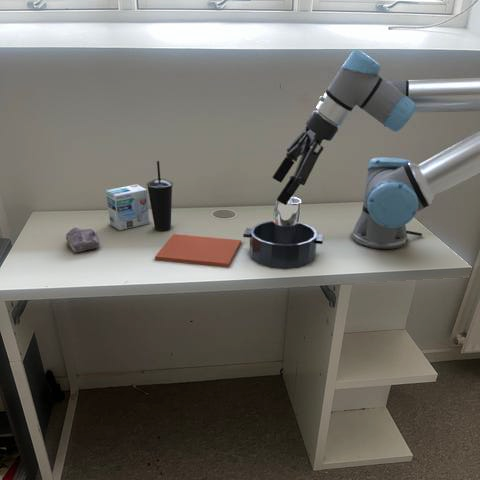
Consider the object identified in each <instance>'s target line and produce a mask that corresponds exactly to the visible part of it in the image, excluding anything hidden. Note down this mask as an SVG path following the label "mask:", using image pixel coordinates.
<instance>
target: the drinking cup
mask: <svg viewBox="0 0 480 480" xmlns="http://www.w3.org/2000/svg"><path fill="white" fill-rule="evenodd" d="M156 168H157V178H154V179H151V180H149V181H148V182H146V188H147V193H148V197H149V202H150V209H151V215H152V220H153V226H154V230H155V231H158V232H167V231H169V230H171V228H172V207H173V206H172V204H173V203H172V202H173V187H174V182H173V181H172V180H168V179H167V178H161V169H160V168H161V167H160V160H156Z"/></svg>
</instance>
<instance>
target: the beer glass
mask: <svg viewBox="0 0 480 480" xmlns="http://www.w3.org/2000/svg"><path fill="white" fill-rule="evenodd" d="M277 198H278V196H277V197H276V198H275V204H274V209H273V216H272V217H273V219H272V221H273V226H274V243H276V244H293V243H294V238H295V235H296V232H297V229H298V225H299V223H300V220H301V212H302V199H300V198H298V197H295V196H292V197H291V198H290V200H289V201H288V203H287V204H286V205H284V204H283V203H281V202H279V201H277Z"/></svg>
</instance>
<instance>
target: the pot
mask: <svg viewBox="0 0 480 480" xmlns="http://www.w3.org/2000/svg"><path fill="white" fill-rule="evenodd" d="M242 235H243V238H248V239H249V256H250V258H251V260H252V261H253V262H255V263H257V264H258V265H261V266H265V267H268V268H271V269H281V270H288V269H289V270H290V269H298V268H302V267H305V266H309V265H310V264H311V263H313V262H314V261H315V259H316V252H317V245H323V243H324V237H325V236H324V234H320V233H319V234H318V232H317V230H316V229H315V228H314V227H313V226H311V225H309V224H306V223H303V222H299V225H298V229H297V232H296V235H295V238H294V243H293V244H276V243H274V226H273V220H268V221H263V222H259V223H256V224H255V225H254V226H252V227H251V228H249V227H246V228H245V230H244V232H243V234H242Z"/></svg>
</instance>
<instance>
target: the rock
mask: <svg viewBox="0 0 480 480" xmlns="http://www.w3.org/2000/svg"><path fill="white" fill-rule="evenodd" d="M65 239H66V241H67V244H68V245H69V247H70V249H71V250H72V251H73V252H74V254H75V253H76V254H77V253H81V252H84V251H85V252H86V251H87V250H92V249H97V248H98V247H99V246H100V245H101V242H100V238H99V236H98V233H97V232H96V231H95V230H94V229H92V228H85V229H83V228H79V227H73V228H72V229H70V230H68V232H67V233H66V234H65Z"/></svg>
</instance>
